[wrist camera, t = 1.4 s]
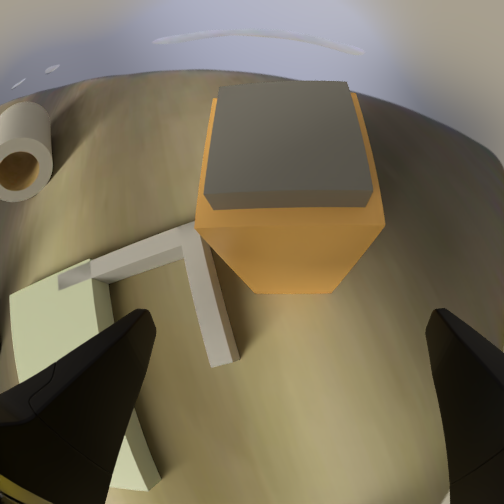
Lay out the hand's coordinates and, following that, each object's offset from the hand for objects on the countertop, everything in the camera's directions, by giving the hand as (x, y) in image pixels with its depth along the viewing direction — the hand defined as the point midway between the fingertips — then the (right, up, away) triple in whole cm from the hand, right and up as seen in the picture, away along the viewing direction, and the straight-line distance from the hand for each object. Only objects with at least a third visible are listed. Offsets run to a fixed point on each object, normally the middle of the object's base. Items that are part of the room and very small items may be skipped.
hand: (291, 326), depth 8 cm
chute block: (+2, +2, +13) cm, 13 cm away
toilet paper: (-31, +14, +22) cm, 41 cm away
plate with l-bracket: (-13, -9, +12) cm, 20 cm away
